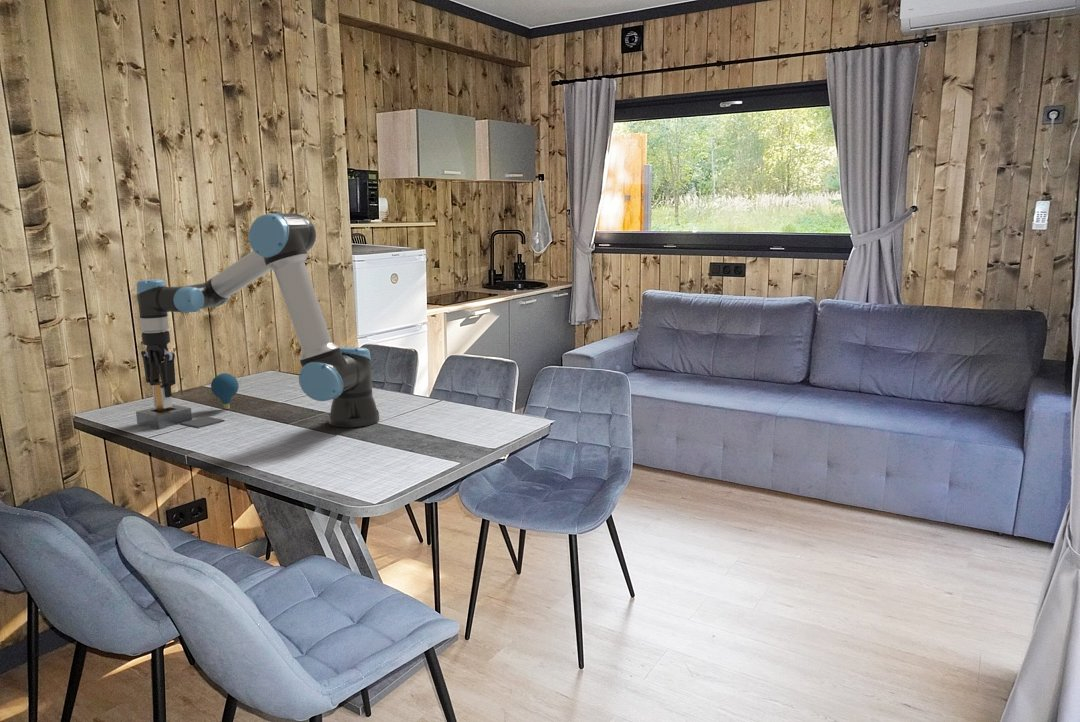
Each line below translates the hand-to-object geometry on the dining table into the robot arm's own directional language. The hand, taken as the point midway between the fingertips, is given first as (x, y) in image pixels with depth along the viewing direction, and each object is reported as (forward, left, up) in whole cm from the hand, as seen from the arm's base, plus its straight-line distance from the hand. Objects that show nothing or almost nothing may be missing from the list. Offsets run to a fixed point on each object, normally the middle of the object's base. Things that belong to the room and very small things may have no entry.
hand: (163, 406), depth 232 cm
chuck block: (0, 0, -5) cm, 5 cm away
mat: (-11, -5, -5) cm, 13 cm away
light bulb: (-3, -20, -5) cm, 21 cm away
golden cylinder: (0, 0, -5) cm, 5 cm away
